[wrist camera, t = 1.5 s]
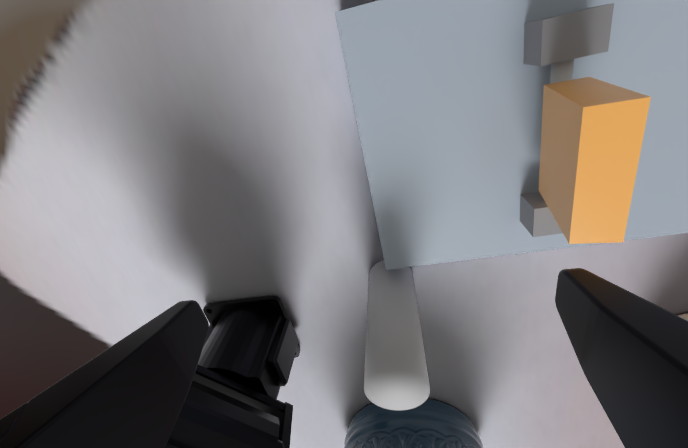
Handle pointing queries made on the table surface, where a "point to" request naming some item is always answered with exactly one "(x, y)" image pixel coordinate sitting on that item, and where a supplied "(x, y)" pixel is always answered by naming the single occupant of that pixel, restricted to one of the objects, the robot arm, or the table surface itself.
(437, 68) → the panel
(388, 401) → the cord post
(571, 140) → the thick orange slab
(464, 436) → the canister
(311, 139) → the table surface
